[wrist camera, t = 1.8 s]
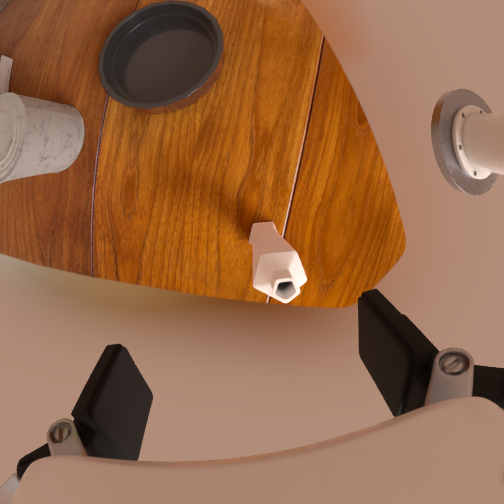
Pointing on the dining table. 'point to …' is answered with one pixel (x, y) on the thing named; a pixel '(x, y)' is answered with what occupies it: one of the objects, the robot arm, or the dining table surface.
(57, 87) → the dining table surface
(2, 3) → the flower pot
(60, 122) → the marbled tin can
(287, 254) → the white faceted vase
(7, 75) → the tea box
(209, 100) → the dining table surface
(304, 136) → the dining table surface
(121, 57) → the bowl
